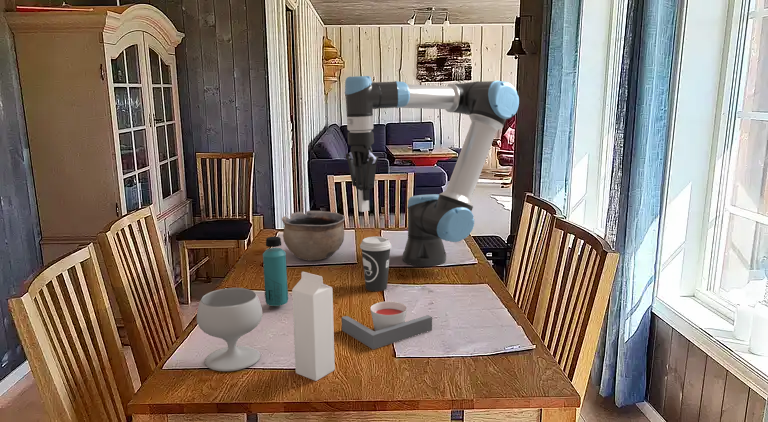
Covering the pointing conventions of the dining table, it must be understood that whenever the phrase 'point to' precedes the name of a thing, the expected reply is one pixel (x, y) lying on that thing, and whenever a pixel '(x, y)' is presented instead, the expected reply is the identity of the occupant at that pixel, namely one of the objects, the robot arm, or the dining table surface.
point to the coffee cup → (376, 262)
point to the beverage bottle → (275, 273)
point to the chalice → (230, 326)
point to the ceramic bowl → (313, 234)
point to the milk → (313, 327)
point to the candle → (388, 314)
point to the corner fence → (385, 331)
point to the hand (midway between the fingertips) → (364, 210)
